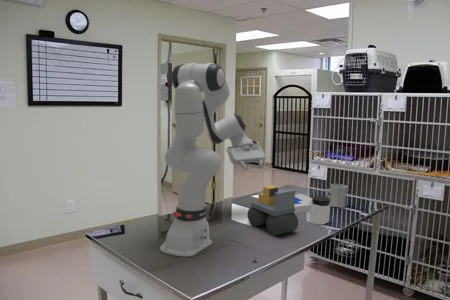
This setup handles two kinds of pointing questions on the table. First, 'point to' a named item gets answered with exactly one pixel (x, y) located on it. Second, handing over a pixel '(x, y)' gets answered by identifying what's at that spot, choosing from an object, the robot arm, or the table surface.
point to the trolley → (275, 214)
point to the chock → (268, 195)
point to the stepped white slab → (302, 203)
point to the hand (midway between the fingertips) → (253, 168)
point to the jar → (320, 210)
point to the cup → (337, 195)
